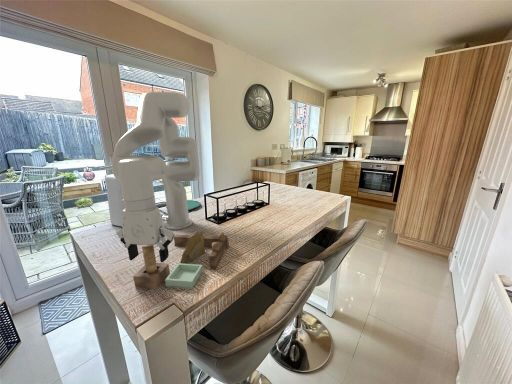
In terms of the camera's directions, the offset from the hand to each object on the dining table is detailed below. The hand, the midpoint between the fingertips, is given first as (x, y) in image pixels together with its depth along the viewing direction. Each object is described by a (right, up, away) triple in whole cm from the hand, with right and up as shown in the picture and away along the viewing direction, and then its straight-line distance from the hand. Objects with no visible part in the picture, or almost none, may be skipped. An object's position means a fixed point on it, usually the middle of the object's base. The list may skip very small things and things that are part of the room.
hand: (149, 258), depth 63 cm
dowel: (0, -8, +2) cm, 8 cm away
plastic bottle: (-34, +4, +49) cm, 60 cm away
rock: (+9, -4, +14) cm, 18 cm away
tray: (+10, -7, +3) cm, 13 cm away
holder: (0, -8, +2) cm, 8 cm away
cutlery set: (-17, +8, +65) cm, 68 cm away
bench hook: (+9, -4, +16) cm, 19 cm away
